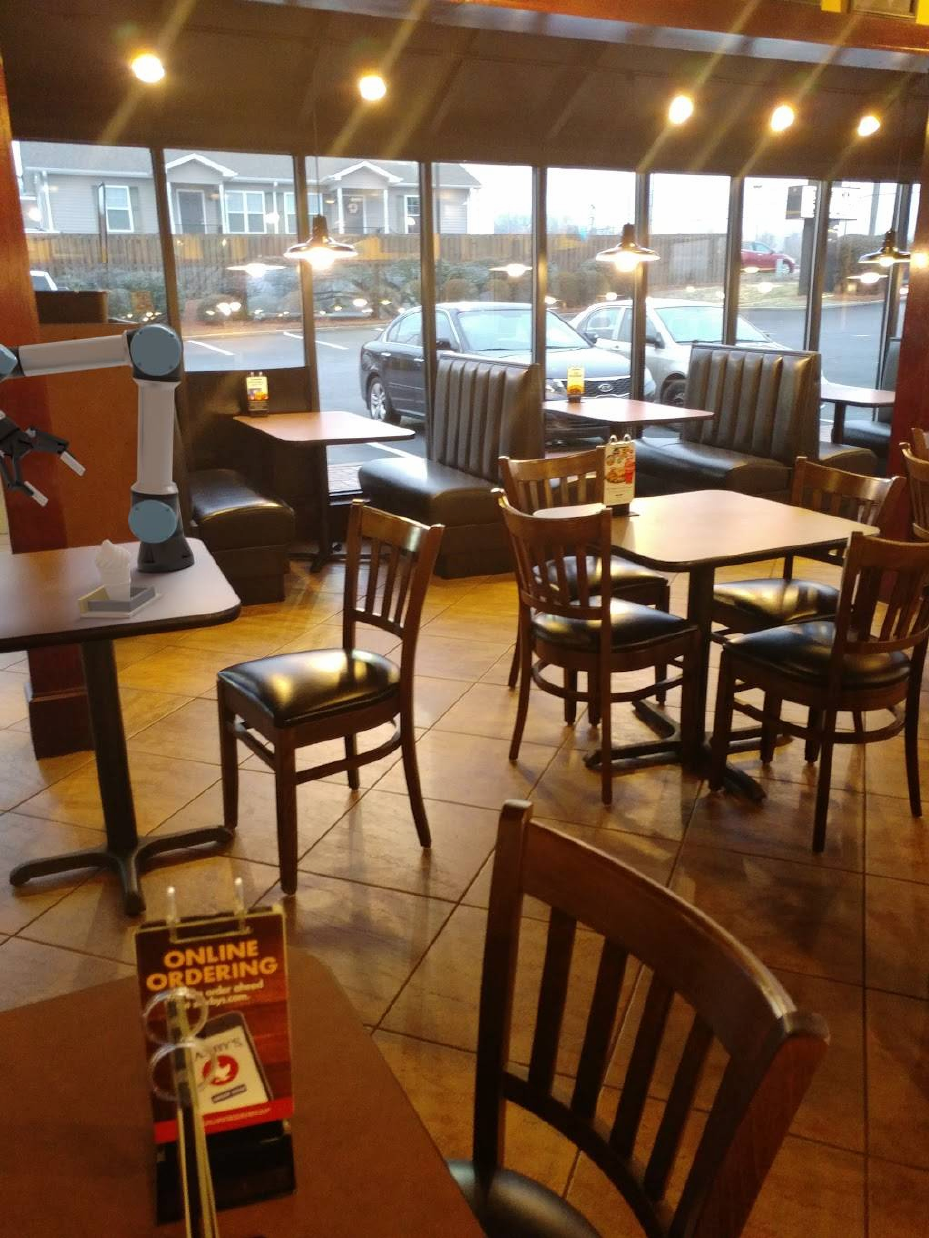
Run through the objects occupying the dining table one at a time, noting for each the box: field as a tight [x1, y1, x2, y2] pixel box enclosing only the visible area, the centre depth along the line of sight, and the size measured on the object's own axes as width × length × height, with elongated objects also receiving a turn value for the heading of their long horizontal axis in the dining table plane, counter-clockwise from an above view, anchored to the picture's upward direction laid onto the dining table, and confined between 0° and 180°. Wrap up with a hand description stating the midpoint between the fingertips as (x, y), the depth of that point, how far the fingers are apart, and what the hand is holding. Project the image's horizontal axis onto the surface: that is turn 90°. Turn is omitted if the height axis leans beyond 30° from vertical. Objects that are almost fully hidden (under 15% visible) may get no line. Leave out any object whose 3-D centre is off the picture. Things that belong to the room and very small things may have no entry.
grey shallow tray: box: [77, 585, 163, 619], centre depth 246 cm, size 13×16×4 cm
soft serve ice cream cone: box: [94, 539, 132, 600], centre depth 244 cm, size 8×8×16 cm
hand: (64, 487), depth 251 cm, fingers open, 13 cm apart
